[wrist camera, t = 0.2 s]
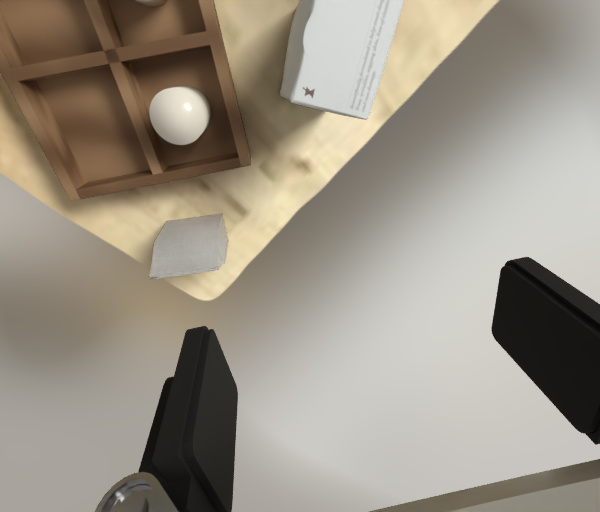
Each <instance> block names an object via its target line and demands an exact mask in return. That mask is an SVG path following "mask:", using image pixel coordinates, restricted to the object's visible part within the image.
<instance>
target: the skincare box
mask: <svg viewBox="0 0 600 512" xmlns="http://www.w3.org/2000/svg"><path fill="white" fill-rule="evenodd" d="M403 3H404V0H300V2H299V4H298V6H297V8H296V11H295V14H294V18H293V22H292V26H291V31H290V36H289V41H288V47H287V53H286V59H285V66H284V72H283V81H282V85H281V90H280V96H282V97H284V98H286V99H288V100H290V101H291V103H294V104H298V105H302V106H306V107H310V108H314V109H318V110H322V111H327V112H331V113H335V114H340V115H344V116H349V117H354V118H359V119H365V120H367V119H368V117H369V114H370V111H371V108H372V105H373V101H374V98H375V95H376V92H377V89H378V86H379V83H380V79H381V76H382V73H383V70H384V67H385V63H386V60H387V57H388V54H389V50H390V47H391V44H392V40H393V37H394V34H395V30H396V27H397V24H398V20H399V17H400V14H401V10H402V7H403Z"/></svg>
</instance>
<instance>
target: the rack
mask: <svg viewBox="0 0 600 512" xmlns="http://www.w3.org/2000/svg"><path fill="white" fill-rule="evenodd" d="M0 72H1V74H2V76H3V77H4V79H5V81H6V83H7V85H8V87H9V88H10V90H11V92H12V94H13V96H14V98H15V99H16V101H17V103H18V105H19V107H20V109H21V110H22V112H23V114H24V116H25V118H26V120H27V122H28V123H29V125H30V127H31V129H32V131H33V133H34V134H35V136H36V138H37V140H38V142H39V144H40V145H41V147H42V149H43V151H44V153H45V155H46V156H47V158H48V160H49V162H50V164H51V166H52V168H53V169H54V171H55V173H56V175H57V177H58V179H59V180H60V182H61V184H62V186H63V188H64V190H65V191H66V193H67V195H68V197H69V199H70V201H74V200H79V199H84V198H89V197H94V196H99V195H104V194H109V193H114V192H119V191H124V190H129V189H134V188H139V187H144V186H149V185H154V184H159V183H164V182H169V181H174V180H179V179H184V178H189V177H194V176H199V175H204V174H209V173H214V172H219V171H224V170H229V169H234V168H239V167H244V166H249V165H251V156H250V152H249V147H248V143H247V139H246V135H245V131H244V126H243V122H242V118H241V114H240V110H239V105H238V101H237V97H236V93H235V89H234V84H233V80H232V76H231V72H230V68H229V63H228V59H227V55H226V51H225V47H224V42H223V38H222V34H221V30H220V25H219V21H218V17H217V13H216V9H215V4H214V0H168V1H167V2H166V3H165V4H164V5H161V6H158V7H148V6H145V5H142V4H140V3H138V2H137V1H135V0H0ZM184 85H186V86H192V87H195V88H197V89H199V90H200V91H202V92H203V93H204V94H205V95H206V97H207V98H208V100H209V102H210V104H211V107H212V119H211V122H210V124H209V126H208V127H207V128H206V129H205V131H204V132H203V133H202V134H201V135H200V137H199V138H198V139H197V140H195V141H194V142H192V143H190V144H186V145H176V144H172V143H170V142H168V141H166V140H165V139H163V138H162V137H161V136H160V135H159V134H158V133H157V132H156V131H155V129H154V127H153V125H152V123H151V120H150V114H149V110H150V104H151V102H152V100H153V98H154V97H155V95H156V94H157V93H159V92H160V91H162V90H164V89H168V88H173V87H178V86H184Z"/></svg>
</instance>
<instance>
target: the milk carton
mask: <svg viewBox="0 0 600 512" xmlns="http://www.w3.org/2000/svg"><path fill="white" fill-rule="evenodd" d="M227 246H228V236H227V232H226V227H225V223H224V219H223V214H215V215H207V216H200V217H193V218H186V219H178V220H171V221H166V223H165V225H164V227H163V228H162V230H161V232H160V233H159V235H158V237H157V239H156V240H155V242H154V247H153V256H152V264H151V270H150V274H149V277H152V278H151V279H150V280H153V279H160V278H167V277H174V276H181V275H187V274H194V273H201V272H208V271H214V270H219V267H220V266H221V265H223V264H224V263H225V260H226V253H227Z"/></svg>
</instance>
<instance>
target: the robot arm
mask: <svg viewBox="0 0 600 512" xmlns="http://www.w3.org/2000/svg"><path fill="white" fill-rule="evenodd" d="M492 334H493V336H494V338H495V340H496V341H497V342H498V343H499V344H500V345H501V346H502V348H503V349H504V350H505V351H506V352H507V353H508V354H509V355H510V356H511V357H512V358H513V360H514V361H515V362H516V363H517V364H518V365H519V366H520V367H521V369H522V370H523V371H524V372H525V373H526V374H527V375H528V376H529V377H530V379H531V380H532V381H533V382H534V383H535V384H536V385H537V386H538V387H539V389H541V391H542V392H543V393H544V394H545V395H546V396H547V397H548V398H549V400H550V401H551V402H552V403H553V404H554V405H555V406H556V407H557V408H558V410H559V411H560V412H561V413H562V414H563V415H564V416H565V417H566V418H567V420H568V421H569V422H570V423H571V424H572V425H573V426H574V427H575V428H576V429H577V430H578V431H579V432H581V433H585V434H586V435H587V436H588V437H589V438H590V439H591V440H592V441H593V442H594V443H595V444H600V304H598V303H597V302H595V301H594V300H592V299H591V298H589V297H588V296H586V295H585V294H583V293H582V292H580V291H579V290H578V289H576V288H575V287H573V286H571V285H570V284H569V283H567V282H566V281H564V280H563V279H561V278H559V277H558V276H557V275H555V274H554V273H552V272H551V271H549V270H548V269H546V268H545V267H543V266H541V265H540V264H539V263H537V262H536V261H534V260H533V259H531V258H529V257H524V258H519V259H515V260H510V261H507V262H506V264H505V266H504V267H502V269H501V272H500V278H499V285H498V292H497V298H496V304H495V310H494V317H493V323H492ZM237 401H238V392H237V386H236V383H235V381H234V379H233V376H232V374H231V371H230V369H229V366H228V364H227V361H226V359H225V356H224V354H223V351H222V349H221V346H220V344H219V341H218V339H217V336H216V334H215V332H214V330H213V329H210V330H208V328H207V327H206V326H202V327H197V328H193V329H188V330H187V331H186V333H185V337H184V341H183V345H182V348H181V352H180V356H179V360H178V364H177V367H176V371H175V375H174V377H169V378H167V380H166V381H165V383H164V386H163V389H162V392H161V396H160V399H159V403H158V406H157V410H156V413H155V417H154V420H153V424H152V427H151V430H150V434H149V437H148V441H147V445H146V448H145V451H144V454H143V458H142V461H141V465H140V468H139V472H138V473H134V474H131V475H129V476H127V477H124V478H123V479H122V480H120V481H119V482H117V483H116V484H115V485H114V486H113V487H112V488H111V489H110V490H109V491H108V492H107V493H106V494H105V495H104V497H103V498H102V500H101V501H100V503H99V504H98V506H97V508H96V511H95V512H231V510H232V499H233V479H234V478H233V477H234V460H235V459H234V458H235V440H236V420H237ZM370 512H600V459H598V460H593V461H589V462H585V463H580V464H576V465H571V466H567V467H562V468H558V469H553V470H549V471H544V472H540V473H535V474H531V475H526V476H522V477H517V478H513V479H509V480H504V481H500V482H495V483H491V484H487V485H482V486H478V487H474V488H469V489H465V490H460V491H456V492H452V493H447V494H443V495H439V496H434V497H430V498H426V499H421V500H417V501H412V502H408V503H404V504H400V505H395V506H391V507H387V508H383V509H378V510H374V511H370Z"/></svg>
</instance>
